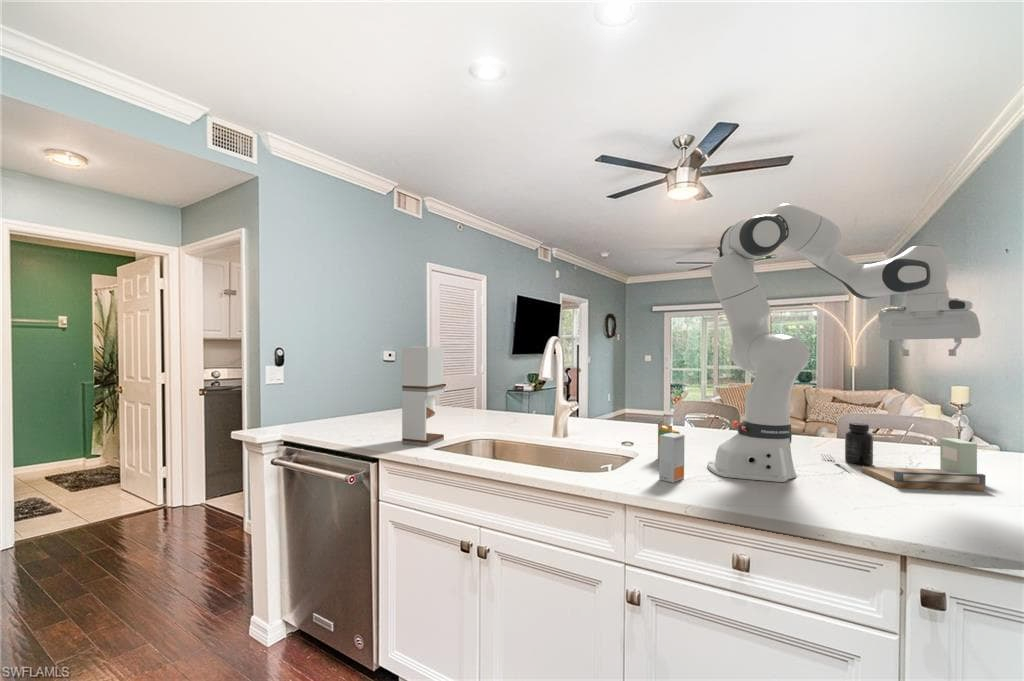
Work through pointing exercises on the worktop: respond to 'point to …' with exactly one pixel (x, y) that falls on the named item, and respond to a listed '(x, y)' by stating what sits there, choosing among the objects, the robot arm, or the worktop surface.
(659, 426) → the crayon box
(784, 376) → the robot arm
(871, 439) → the supplement bottle
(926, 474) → the shelf board
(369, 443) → the worktop surface
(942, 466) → the carton
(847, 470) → the fork
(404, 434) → the coffee grinder
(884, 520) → the worktop surface
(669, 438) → the skincare box
